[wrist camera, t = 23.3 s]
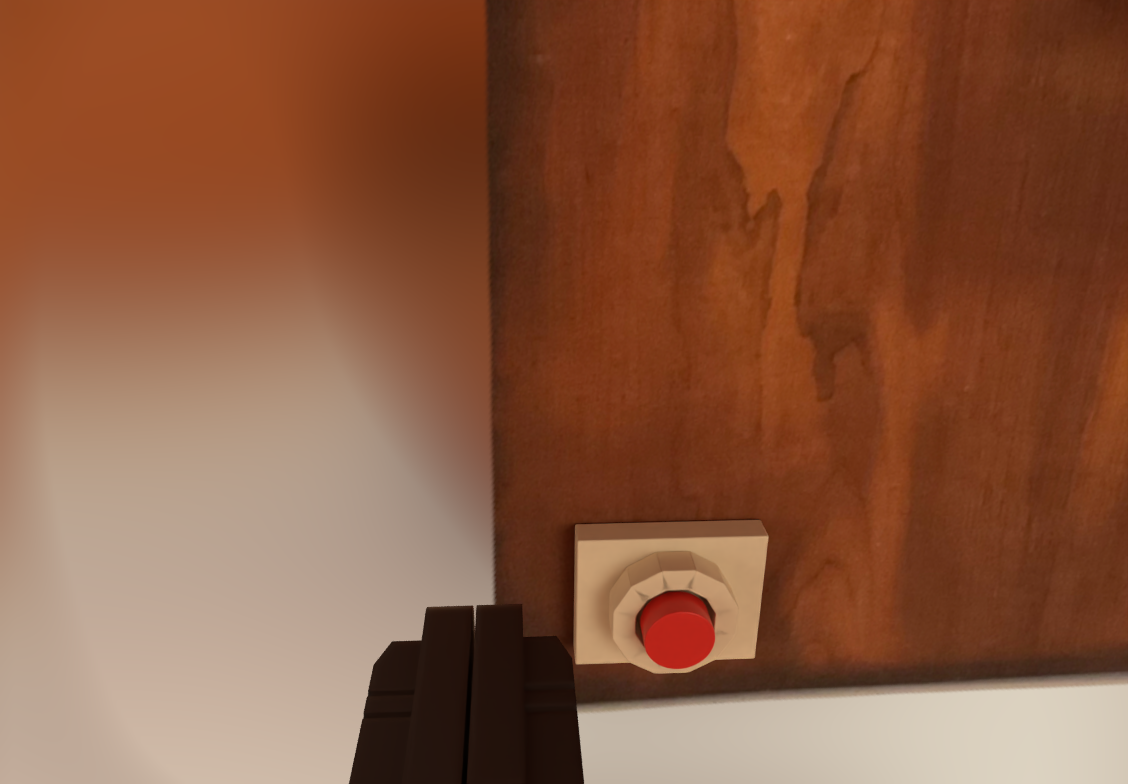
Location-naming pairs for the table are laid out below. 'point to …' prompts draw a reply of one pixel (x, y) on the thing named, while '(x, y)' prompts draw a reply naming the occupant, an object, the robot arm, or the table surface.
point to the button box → (666, 585)
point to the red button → (677, 630)
